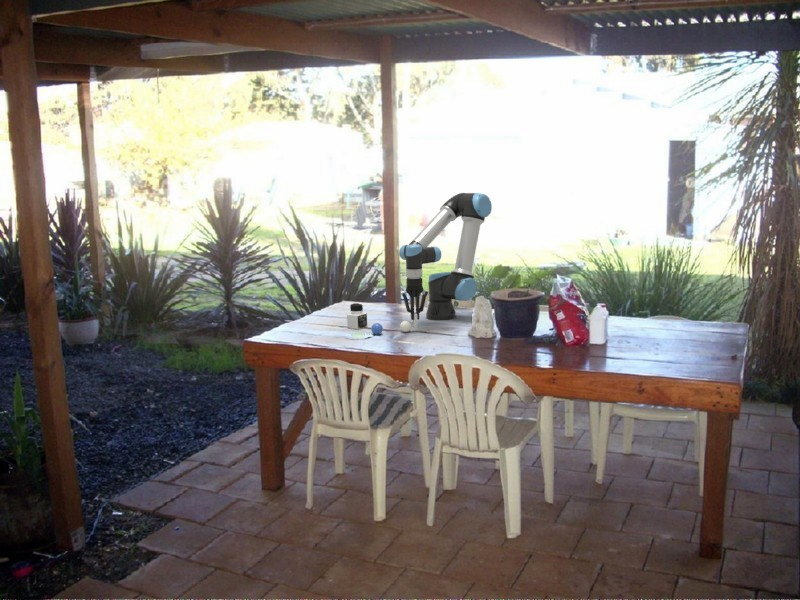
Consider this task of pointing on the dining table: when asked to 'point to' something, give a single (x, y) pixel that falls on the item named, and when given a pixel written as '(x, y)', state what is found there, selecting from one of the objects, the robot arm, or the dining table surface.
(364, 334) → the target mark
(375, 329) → the object ball
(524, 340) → the dining table surface
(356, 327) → the medicine bottle
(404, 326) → the cue ball
